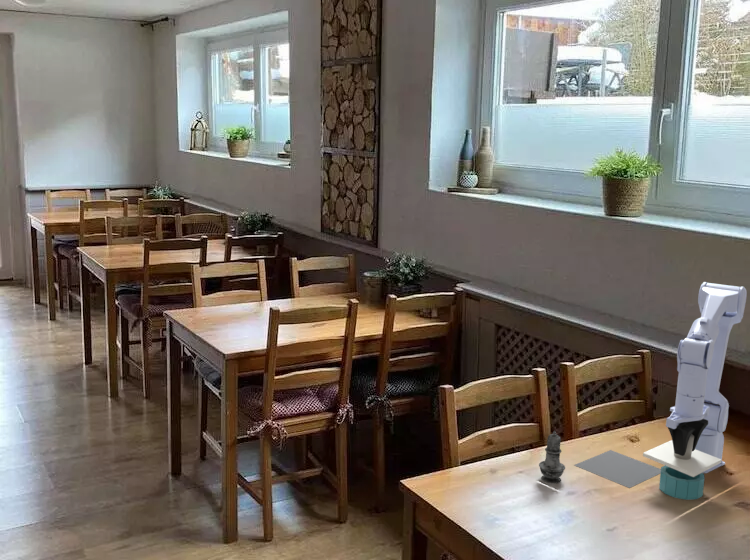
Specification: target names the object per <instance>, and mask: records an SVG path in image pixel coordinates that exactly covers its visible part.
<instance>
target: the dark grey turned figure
mask: <svg viewBox="0 0 750 560" xmlns="http://www.w3.org/2000/svg"><path fill="white" fill-rule="evenodd" d="M546 442H547V443H546V448H545V449H544V450H545V459H544V460H542V461H540V462H539V463H538V466H539V469H540V473H541V474H542V476H541V477H540V479H541V481H540V482H541V484H543V485H547V486H548V484H553V485H554V484H560V483H561V482H562V478H560V477H562V476H563V474H564V473H565V472H564V471H565V470H566V465H565V464H563V463H562V462H561V460H560V456H561V455H560V454H561V453H562V449H561V436H559V435H558V434H557V432H556V430H554V431H553V432H552V433H551V434H549V435H548V436H547V441H546ZM542 481H543V482H542Z"/></svg>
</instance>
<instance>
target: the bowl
mask: <svg viewBox="0 0 750 560" xmlns="http://www.w3.org/2000/svg"><path fill="white" fill-rule="evenodd" d="M660 469H661V473H660V474H659V487H658V489H659V490H660V491H661V492H662V493H663V494H665V495H667V496H669V497H672V498H675V499H679V500H686V501H688V500H689V501H690V500H698V499H699V498H702V497H703V495H704V487H705V480H706V479H705V473H703V472H702V473H700V474H698V475H696V476H695V477H692V476H689V475H687V474H685V473H682V472H680V471H677V470H675V469H673V468H670V467H668V466H665V465H663V466H661V467H660Z"/></svg>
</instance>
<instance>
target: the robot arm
mask: <svg viewBox="0 0 750 560" xmlns="http://www.w3.org/2000/svg"><path fill="white" fill-rule="evenodd" d="M747 295H748V294H747V289H746V288H745V286H743V285H742V286H736V285H727V284H720V283H713V282H712V283H711V282H707V281H703V282H702V283H701V285H700V288H699V291H698V295H697V296H698V298H697V303H698V307H699V313H700V317H698V318H696V319H695V320H694V321H693V322H692V324H691V327H690V329H689V331H688V334H687V335H686V337H685V338H684V339H680V340H679V343H678V347H677V352H676V361H677V367H676V370H677V372H678V374H677V375H678V376H677V383H676V384H677V386H676V395H675V396H676V397H675V405H674V406H671V407H670V408H669V412H671V413H670V416H668V417H666V422H665V427H666V428H667V430H668V432H669V434H670V436H671V440H672V442H673V448H674V453H676V454H678V455H681V456H684V455H685V453H686V449H687V445H688V441H689V438H690V436H691V434H692V435H694V441H693V448H692V451H694V450H695V449H696V450H698V451H701V452H704V453H706V454H709V455H711V456H714V457H716V458H719V459H722V460H721V463H720V464H718V465H716V466H714V467H712V468H710V469H708V470H706V471H704V472H702V473H703V474H708V473H710V472H712V471H714V470H717V469H718V468H720V467H722V466H724V465H726V462H725V461H723V451H724V443H725V437H724V436H725V435H724V433H723V432H725V431H726V428H727V424H728V419H729V407H730V405H729V404H730V403H729V401H728V399H727V398H726V397H725V396H724V395H723V394H722V393H721V392H720V385H721V381H722V380H721V379H722V375H723V370H724V366H725V365H724V364H725V359H726V354H727V348H728V344H729V343H728V342H729V338H730V334H731V330H732V329H733V326H734V325H736V324H739V323H742V320H743V318H744V314H745V309H746V308H745V307H746V304H747V303H746V302H747Z"/></svg>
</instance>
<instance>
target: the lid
mask: <svg viewBox="0 0 750 560" xmlns="http://www.w3.org/2000/svg"><path fill="white" fill-rule="evenodd" d="M693 441H694V435H692V434H691V436H690V438H689V441H688V445H687V449H686V453H685V455H684V456H681V455H678V454H676V453H674V448H673V442H672V439H670V440H669V441H666V442H664V443H662V444H659V445H658V446H655V447H653V448H651V449H649V450H646V451H643V453H642V456H643V457H644V458H647V459H649V460H651V461H654V462H656V463H659V464H661V465H663V466H668V467H670V468H673V469H675V470H677V471H680V472H682V473H685V474H687V475H689V476H692V477H695V476H696V475H698V474H700V473H703V472H704V471H706V470H708V469H710V468H712V467H714V466H716V465H718V464H720V463H721V460H722V461H723V458H722V459H719V458H716V457H714V456H711V455H709V454H706V453H704V452H701V451H698V450H696V449H695V450H694V451H692V448H693Z"/></svg>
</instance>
